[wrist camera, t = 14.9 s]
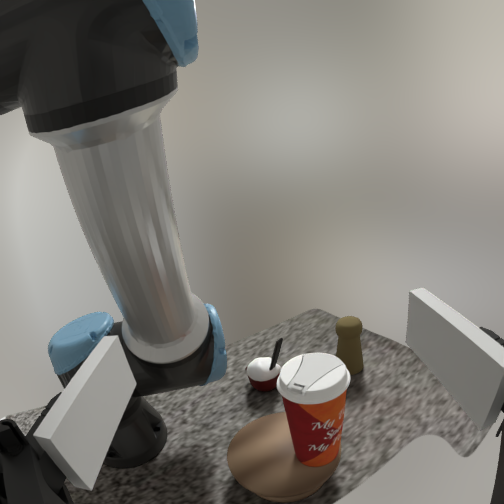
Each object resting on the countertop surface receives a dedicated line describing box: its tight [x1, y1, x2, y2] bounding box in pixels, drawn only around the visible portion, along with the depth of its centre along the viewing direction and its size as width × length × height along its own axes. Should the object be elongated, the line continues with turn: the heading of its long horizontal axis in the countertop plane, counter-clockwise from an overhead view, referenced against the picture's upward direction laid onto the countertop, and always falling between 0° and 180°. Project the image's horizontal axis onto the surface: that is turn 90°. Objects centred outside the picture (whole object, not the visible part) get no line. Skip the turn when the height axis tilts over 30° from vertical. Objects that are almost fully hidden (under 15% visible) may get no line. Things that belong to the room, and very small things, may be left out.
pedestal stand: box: [227, 412, 341, 503], centre depth 34 cm, size 15×15×6 cm
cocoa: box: [246, 338, 283, 391], centre depth 54 cm, size 10×6×12 cm, turn 28°
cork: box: [335, 316, 363, 375], centre depth 55 cm, size 6×6×11 cm
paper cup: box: [277, 353, 350, 467], centre depth 31 cm, size 8×8×14 cm
